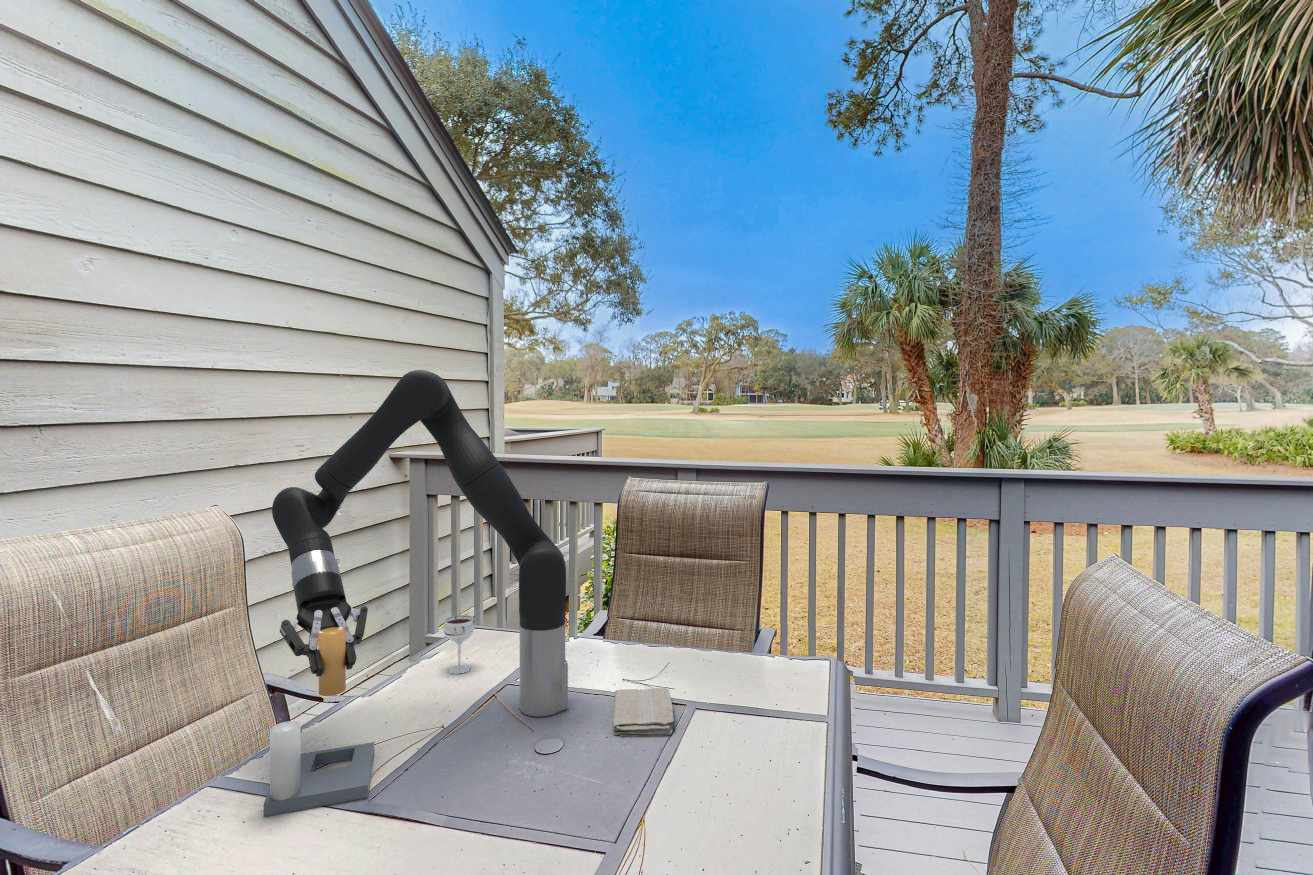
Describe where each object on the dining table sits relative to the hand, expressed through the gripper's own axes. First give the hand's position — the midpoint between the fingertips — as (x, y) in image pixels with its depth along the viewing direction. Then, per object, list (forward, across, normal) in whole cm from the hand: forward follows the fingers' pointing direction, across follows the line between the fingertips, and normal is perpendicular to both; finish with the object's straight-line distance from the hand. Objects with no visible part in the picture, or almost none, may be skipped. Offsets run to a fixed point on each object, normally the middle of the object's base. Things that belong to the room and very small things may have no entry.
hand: (335, 669), depth 103 cm
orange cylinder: (+1, 0, +4) cm, 5 cm away
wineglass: (-9, +34, +34) cm, 48 cm away
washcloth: (+24, +52, +2) cm, 58 cm away
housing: (+13, -2, +12) cm, 18 cm away
